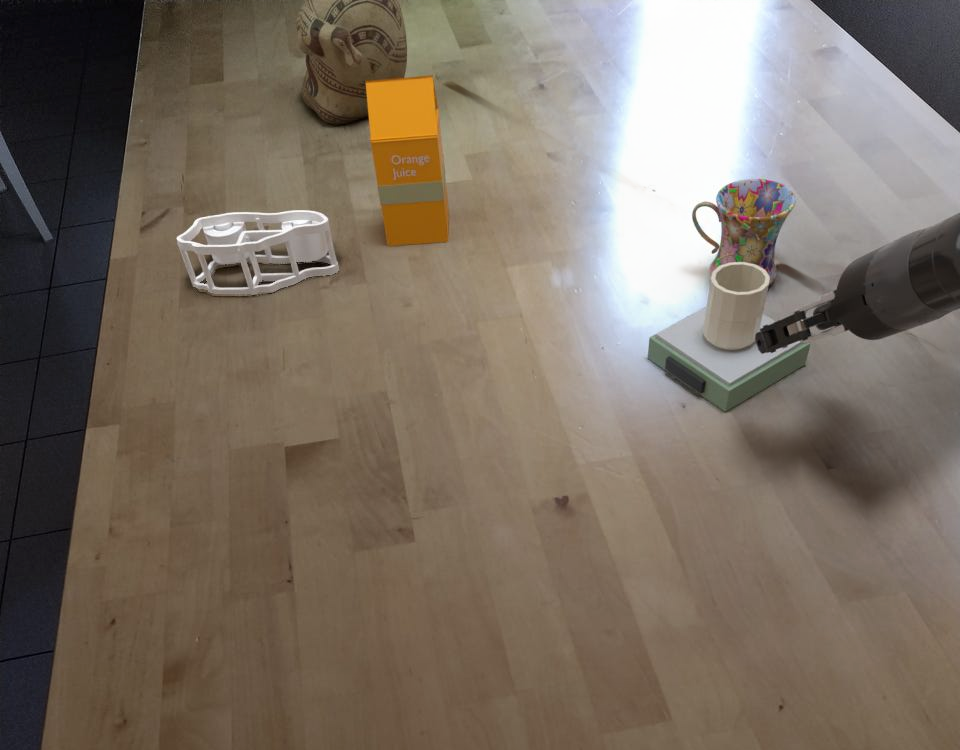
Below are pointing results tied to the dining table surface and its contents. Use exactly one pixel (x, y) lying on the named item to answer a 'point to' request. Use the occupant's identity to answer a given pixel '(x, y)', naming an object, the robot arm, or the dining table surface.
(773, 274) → the mug
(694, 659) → the dining table surface
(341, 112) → the ceramic vessel
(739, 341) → the pen cup
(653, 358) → the scale
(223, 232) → the white lattice frame
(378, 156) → the orange juice
